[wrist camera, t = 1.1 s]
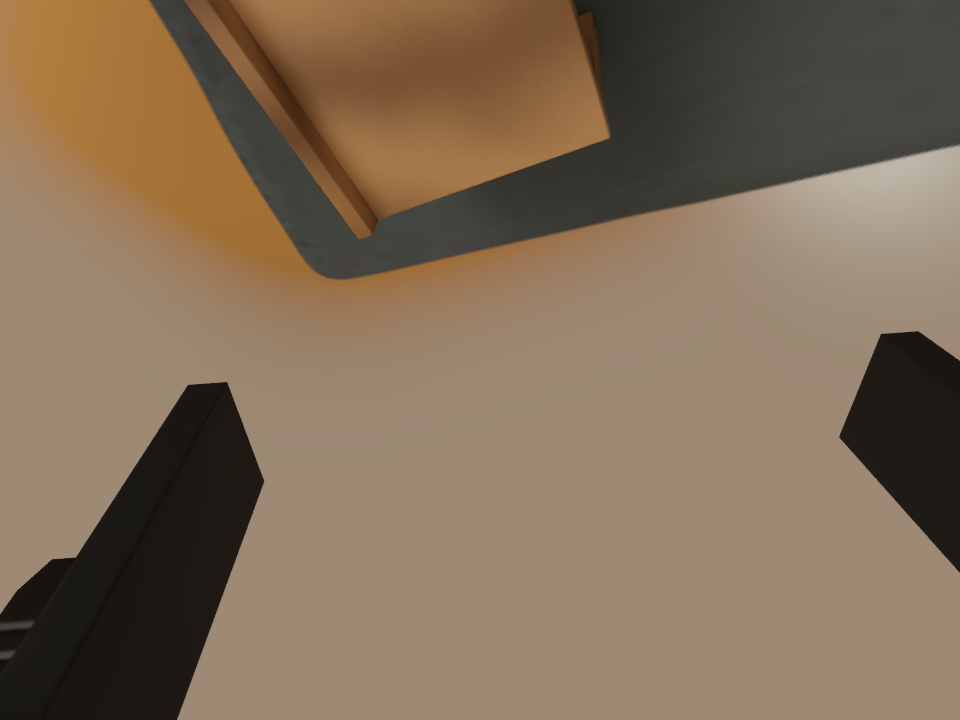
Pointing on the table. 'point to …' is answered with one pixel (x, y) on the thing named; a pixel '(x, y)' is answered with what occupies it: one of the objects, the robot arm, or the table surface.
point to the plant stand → (415, 90)
